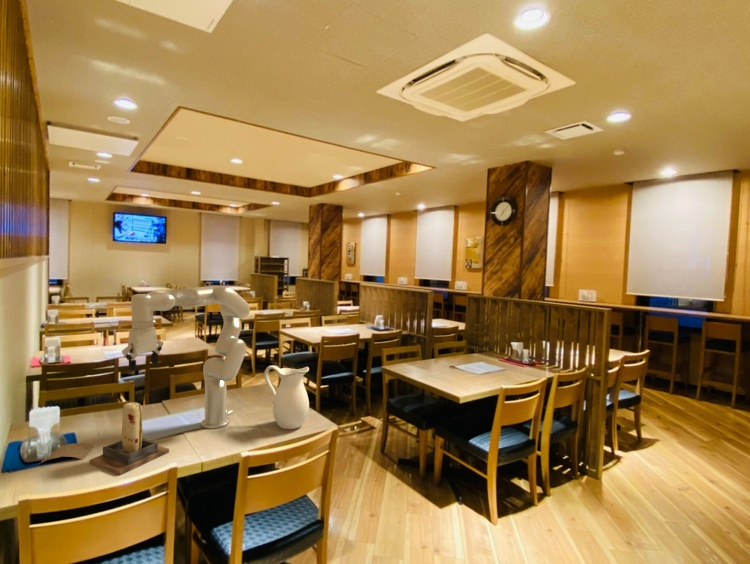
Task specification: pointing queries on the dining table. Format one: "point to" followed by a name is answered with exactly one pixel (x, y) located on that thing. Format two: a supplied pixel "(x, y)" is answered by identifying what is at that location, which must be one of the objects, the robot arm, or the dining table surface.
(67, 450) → the brown curved panel
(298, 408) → the pitcher
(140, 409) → the food model
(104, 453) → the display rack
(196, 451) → the dining table surface
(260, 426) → the dining table surface
